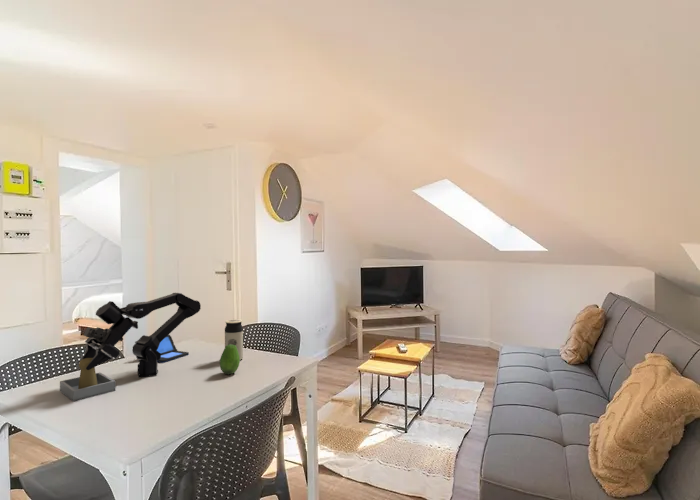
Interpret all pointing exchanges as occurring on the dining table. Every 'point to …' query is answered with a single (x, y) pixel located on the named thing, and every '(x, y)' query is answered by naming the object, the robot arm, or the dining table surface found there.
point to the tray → (76, 394)
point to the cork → (86, 374)
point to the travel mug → (234, 335)
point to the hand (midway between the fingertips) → (83, 367)
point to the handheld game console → (169, 350)
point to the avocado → (229, 359)
